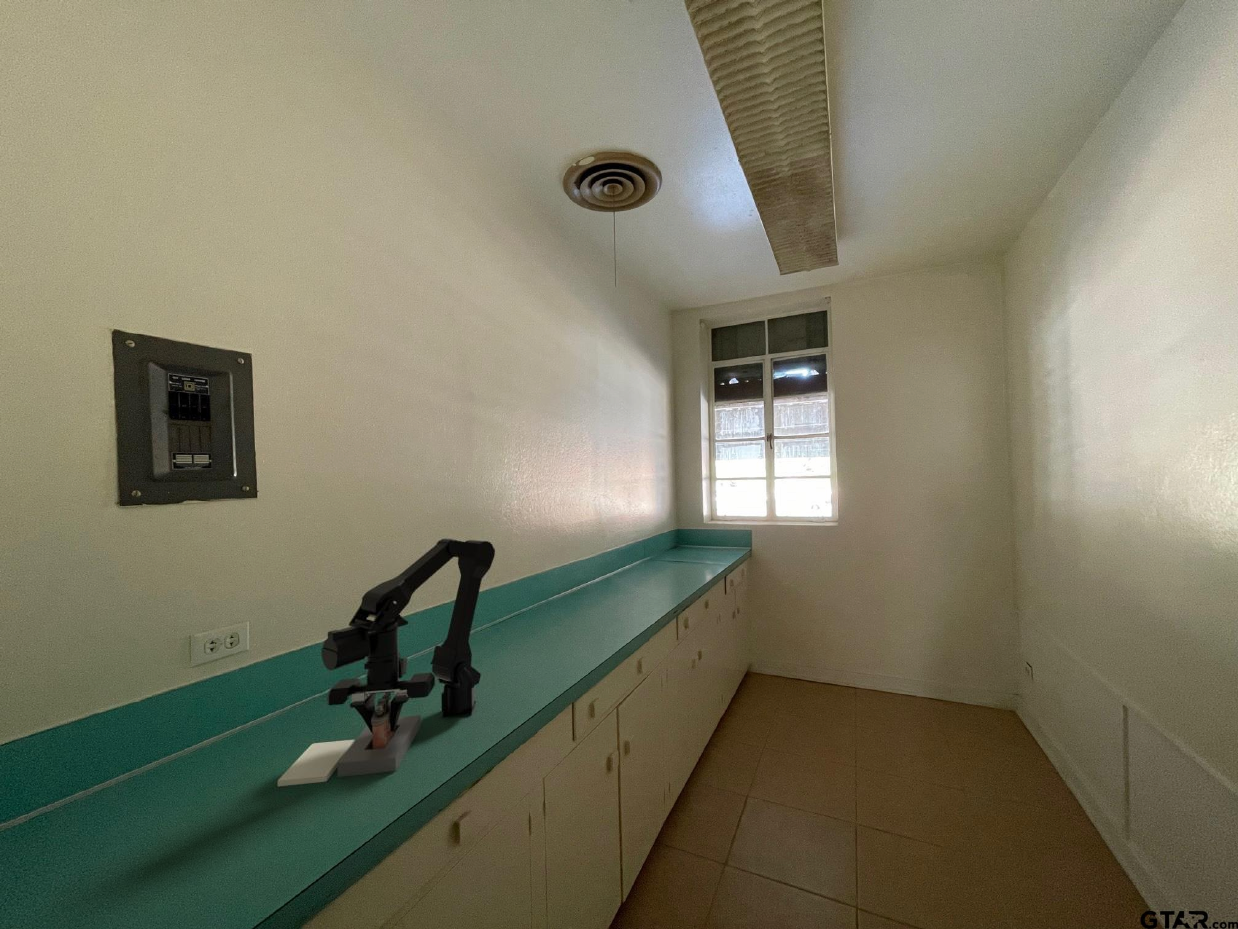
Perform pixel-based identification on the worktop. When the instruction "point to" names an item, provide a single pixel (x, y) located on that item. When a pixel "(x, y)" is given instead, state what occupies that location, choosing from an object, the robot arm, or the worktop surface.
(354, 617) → the robot arm
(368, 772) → the grey rectangular frame
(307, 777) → the rubber mat
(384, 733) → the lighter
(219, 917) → the worktop surface
